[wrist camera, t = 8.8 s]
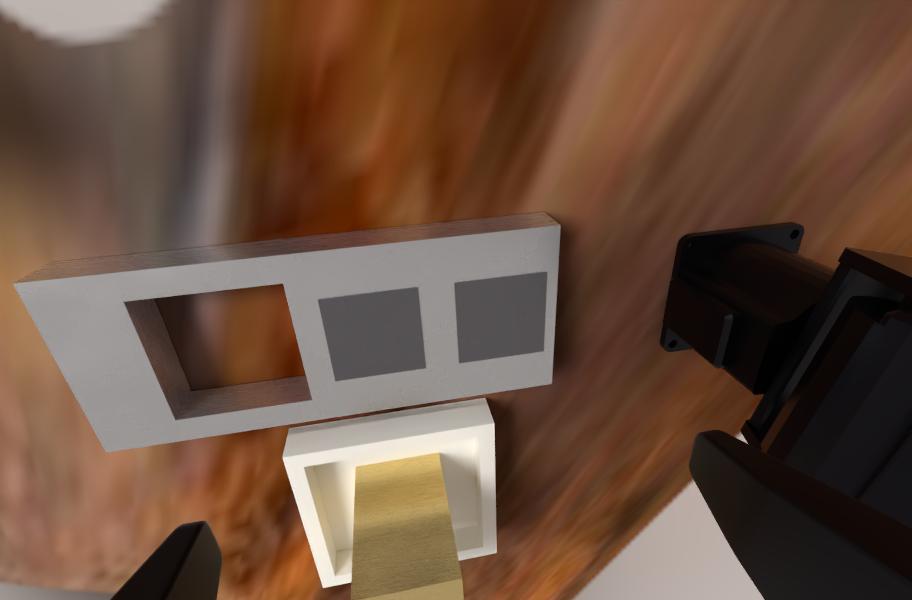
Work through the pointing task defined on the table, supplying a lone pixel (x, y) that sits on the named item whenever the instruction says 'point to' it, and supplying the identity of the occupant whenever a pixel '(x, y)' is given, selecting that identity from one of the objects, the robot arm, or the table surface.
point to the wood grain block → (403, 533)
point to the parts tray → (385, 439)
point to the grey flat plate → (309, 324)
